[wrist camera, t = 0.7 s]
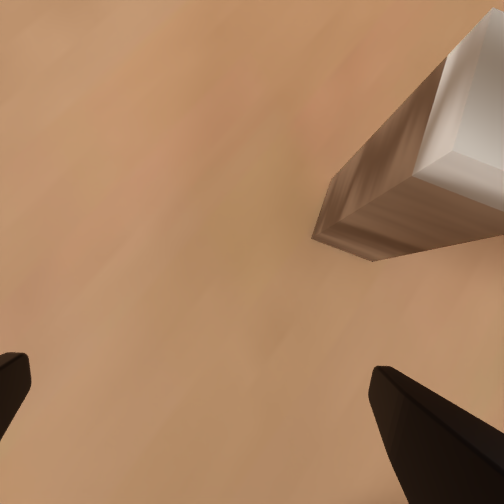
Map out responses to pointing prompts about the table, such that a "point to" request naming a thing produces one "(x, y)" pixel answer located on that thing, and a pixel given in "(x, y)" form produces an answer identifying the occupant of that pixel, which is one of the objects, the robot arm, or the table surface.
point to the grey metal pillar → (429, 161)
